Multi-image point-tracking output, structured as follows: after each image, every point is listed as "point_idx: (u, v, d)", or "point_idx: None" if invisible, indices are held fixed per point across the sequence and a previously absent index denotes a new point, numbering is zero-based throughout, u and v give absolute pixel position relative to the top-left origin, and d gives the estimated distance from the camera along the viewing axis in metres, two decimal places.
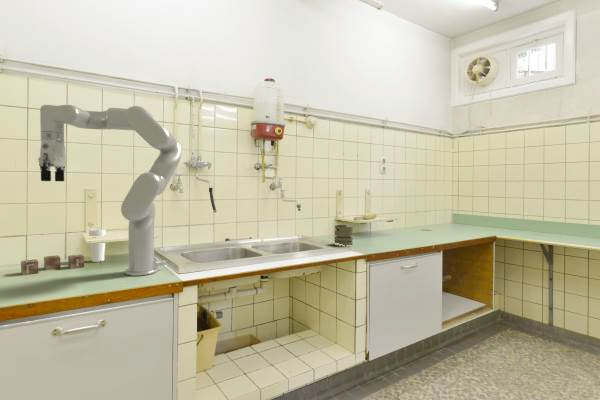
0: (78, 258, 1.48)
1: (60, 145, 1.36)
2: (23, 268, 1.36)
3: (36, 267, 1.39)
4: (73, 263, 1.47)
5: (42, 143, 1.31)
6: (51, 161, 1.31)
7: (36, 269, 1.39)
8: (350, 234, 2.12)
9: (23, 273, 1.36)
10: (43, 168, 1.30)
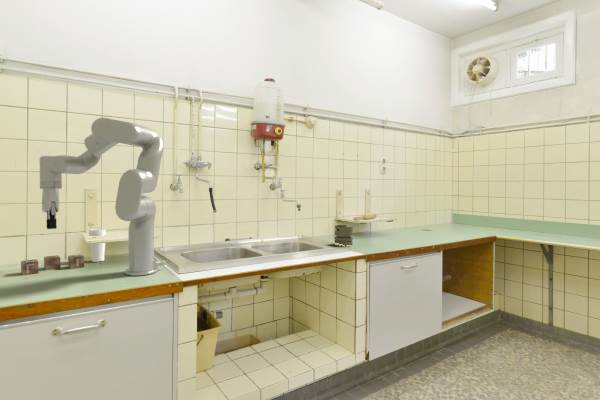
0: (78, 258, 1.48)
1: (42, 192, 1.44)
2: (23, 268, 1.36)
3: (36, 267, 1.39)
4: (73, 263, 1.47)
5: None
6: None
7: (36, 269, 1.39)
8: (350, 234, 2.12)
9: (23, 273, 1.36)
10: None
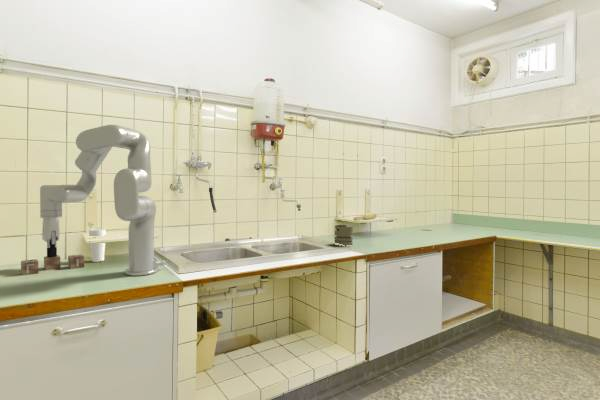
0: (78, 258, 1.48)
1: (43, 221, 1.45)
2: (23, 268, 1.36)
3: (36, 267, 1.39)
4: (73, 263, 1.47)
5: None
6: None
7: (36, 269, 1.39)
8: (350, 234, 2.12)
9: (23, 273, 1.36)
10: None
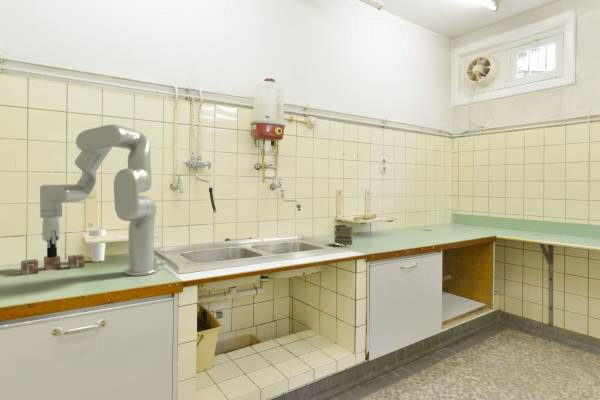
0: (78, 258, 1.48)
1: (43, 221, 1.45)
2: (23, 268, 1.36)
3: (36, 267, 1.39)
4: (73, 263, 1.47)
5: None
6: None
7: (36, 269, 1.39)
8: (350, 234, 2.12)
9: (23, 273, 1.36)
10: None
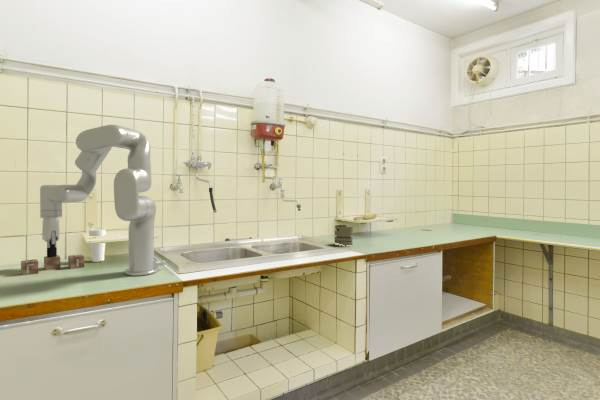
0: (78, 258, 1.48)
1: (43, 221, 1.45)
2: (23, 268, 1.36)
3: (36, 267, 1.39)
4: (73, 263, 1.47)
5: None
6: None
7: (36, 269, 1.39)
8: (350, 234, 2.12)
9: (23, 273, 1.36)
10: None
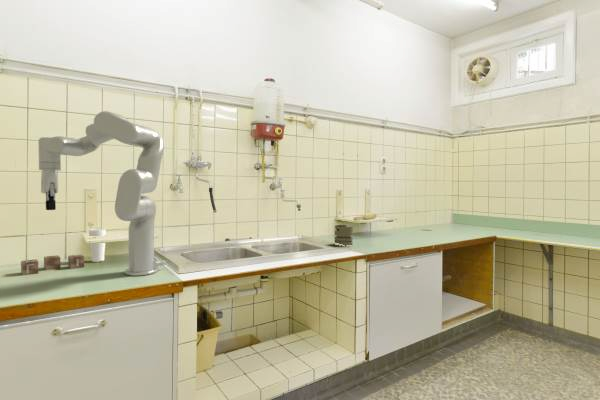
0: (78, 258, 1.48)
1: (42, 173, 1.45)
2: (23, 268, 1.36)
3: (36, 267, 1.39)
4: (73, 263, 1.47)
5: None
6: None
7: (36, 269, 1.39)
8: (350, 234, 2.12)
9: (23, 273, 1.36)
10: None
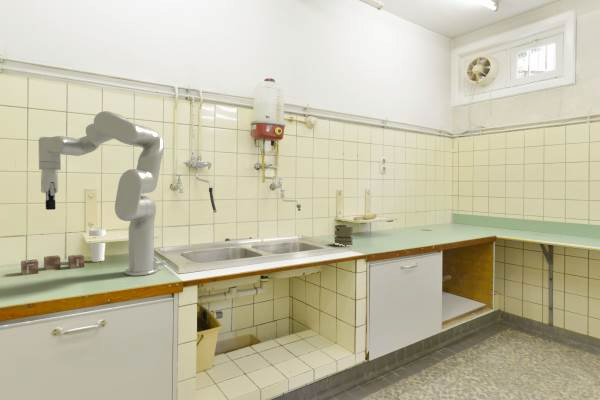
0: (78, 258, 1.48)
1: (41, 173, 1.45)
2: (23, 268, 1.36)
3: (36, 267, 1.39)
4: (73, 263, 1.47)
5: None
6: None
7: (36, 269, 1.39)
8: (350, 234, 2.12)
9: (23, 273, 1.36)
10: None
